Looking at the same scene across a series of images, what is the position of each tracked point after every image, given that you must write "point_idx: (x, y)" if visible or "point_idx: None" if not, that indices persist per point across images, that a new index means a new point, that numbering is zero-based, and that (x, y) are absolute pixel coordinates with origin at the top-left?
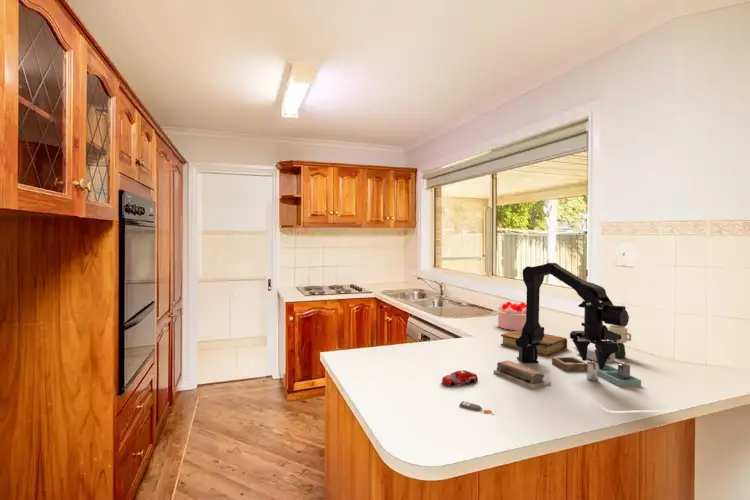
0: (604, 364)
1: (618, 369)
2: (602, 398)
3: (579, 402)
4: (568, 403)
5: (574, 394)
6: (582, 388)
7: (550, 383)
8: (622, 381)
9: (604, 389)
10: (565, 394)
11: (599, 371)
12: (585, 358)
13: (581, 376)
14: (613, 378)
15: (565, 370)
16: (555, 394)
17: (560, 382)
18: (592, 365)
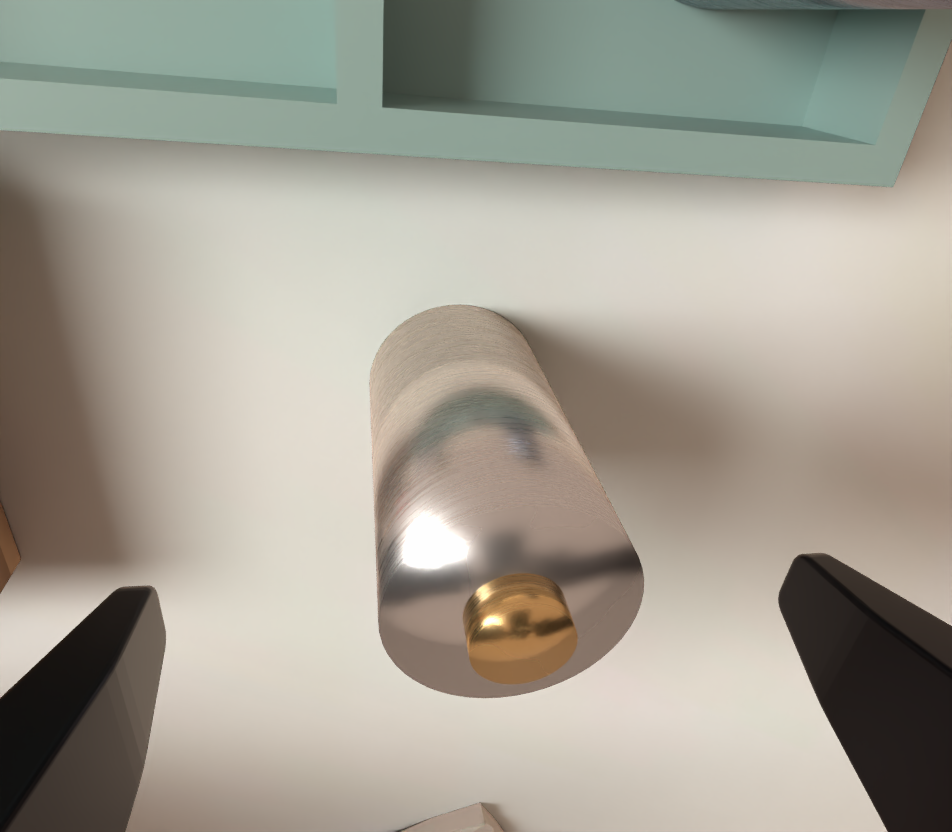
0: (945, 640)
1: (889, 7)
2: (901, 573)
3: None
4: (829, 802)
5: (728, 726)
6: (639, 617)
7: (489, 823)
8: (912, 101)
9: (751, 413)
10: (701, 775)
11: (261, 144)
12: (139, 643)
13: (218, 419)
14: (733, 172)
15: (6, 574)
16: (674, 824)
17: (436, 727)
18: (595, 647)
